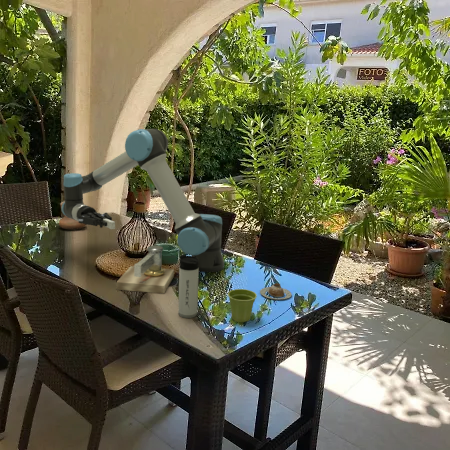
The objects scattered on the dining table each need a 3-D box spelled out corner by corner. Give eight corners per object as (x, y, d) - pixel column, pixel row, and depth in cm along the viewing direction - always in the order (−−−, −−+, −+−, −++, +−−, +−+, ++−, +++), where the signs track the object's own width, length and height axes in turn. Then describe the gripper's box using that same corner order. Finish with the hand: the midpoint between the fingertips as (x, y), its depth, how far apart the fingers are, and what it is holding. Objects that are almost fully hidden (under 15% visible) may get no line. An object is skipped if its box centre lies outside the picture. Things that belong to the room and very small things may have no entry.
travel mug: (186, 308, 159) (188, 253, 154) (200, 314, 155) (202, 257, 150) (173, 314, 155) (174, 257, 150) (188, 320, 151) (189, 262, 146)
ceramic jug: (52, 227, 250) (50, 202, 247) (74, 223, 262) (73, 198, 258) (73, 234, 241) (72, 207, 237) (95, 228, 252) (94, 203, 249)
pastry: (266, 303, 168) (267, 291, 167) (255, 290, 179) (256, 279, 178) (296, 300, 171) (297, 289, 170) (283, 288, 182) (284, 277, 181)
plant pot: (252, 326, 148) (254, 301, 146) (224, 322, 150) (225, 298, 148) (256, 314, 157) (258, 290, 155) (229, 311, 159) (231, 287, 157)
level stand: (173, 276, 188) (174, 268, 188) (164, 293, 171) (164, 285, 170) (130, 273, 190) (130, 265, 189) (116, 289, 172) (116, 281, 172)
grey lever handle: (148, 268, 186) (148, 244, 184) (167, 270, 185) (167, 246, 182) (127, 287, 166) (126, 261, 164) (148, 289, 165) (148, 263, 162)
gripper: (99, 220, 197) (128, 232, 181) (70, 225, 189) (97, 237, 172) (98, 203, 196) (128, 213, 179) (69, 207, 187) (97, 218, 170)
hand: (113, 225), depth 175 cm, fingers closed
